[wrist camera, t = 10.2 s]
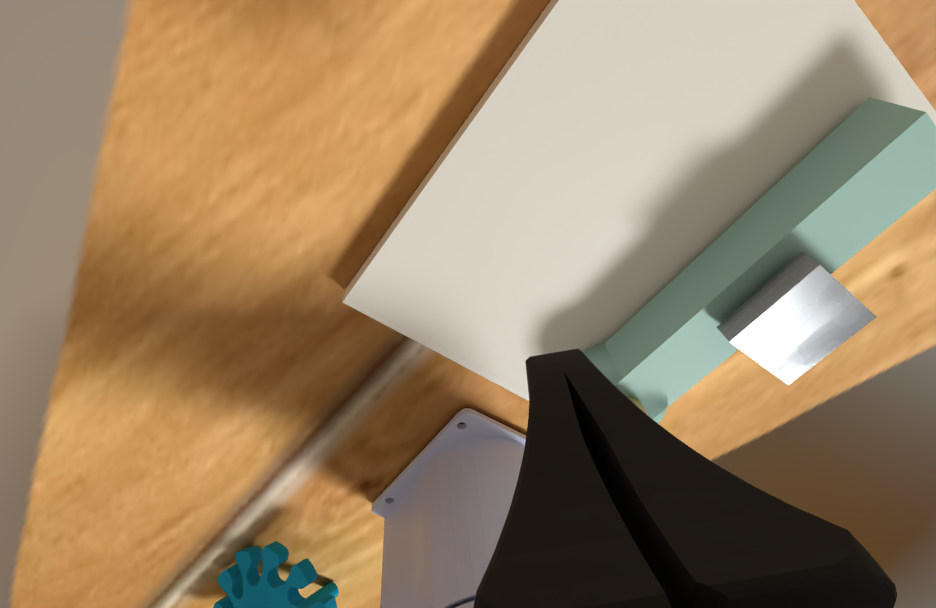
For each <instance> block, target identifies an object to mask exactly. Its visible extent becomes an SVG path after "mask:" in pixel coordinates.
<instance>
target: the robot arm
mask: <svg viewBox="0 0 936 608" xmlns="http://www.w3.org/2000/svg"><path fill="white" fill-rule="evenodd" d="M525 363H526V373H527V383H528V392H529V402H530V403H529V419H528V427H527V434H526V435H524V434H522V433H520V432H518V431H516V430H514V429H512V428H510V427H507V426H505V425H503V424H501V423H499V422H497V421H495V420H493V419H491V418H489V417H487V416H485V415H483V414H481V413H479V412H477V411H475V410H473V409H470V408H465V409H462V410H461V411H459V412H458V413H457V414H456V415H455V416H454V418H453V419H452V420H451V421H450V422H449V423H448V424H447V425H446V426H445V427H444V428H443V429H442V430H441V431H440V432H439V433H438V434H437V436H436V437H435V438H434V439H433V440H432V441H431V442H430V443H429V444H428V445H427V446H426V447H425V448H424V449H423V450H422V451H421V452H420V453H419V455H418V456H417V457H416V458H415V459H414V460H413V461H412V462H411V463H410V464H409V465H408V466H407V467H406V468H405V469H404V470H403V471H402V473H401V474H400V475H399V476H398V477H397V478H396V479H395V480H394V481H393V482H392V483H391V484H390V485H389V486H388V487H387V488H386V489H385V491H384V492H383V493H382V494H381V495H380V496H379V497H378V498H377V499H376V500H375V501H374V502H373V504H372V512H373V513H374V514H376V515H379V516H381V517H384V518H385V521H384V542H383V563H382V584H381V605H380V608H893V607H894V604H895V601H896V597H897V592H896V587H895V584H894V583H893V582H892V581H891V579H890V578H889V577H888V576H887V575H886V573H885V572H884V571H883V569H882V568H881V567H880V566H879V564H878V563H877V562H876V561H875V559H874V558H873V557H872V556H871V555H870V553H869V552H868V551H867V550H866V549H865V548H864V547H863V546H862V545H861V544H860V543H859V542H858V541H857V540H856V539H855V538H854V536H853V535H852V534H851V533H850V532H849V531H848V530H846V529H844V528H841V527H839V526H837V525H835V524H832V523H830V522H828V521H826V520H823V519H821V518H819V517H816V516H814V515H812V514H810V513H807V512H805V511H803V510H800V509H798V508H796V507H794V506H791V505H789V504H787V503H785V502H783V501H781V500H780V499H777V498H776V497H774V496H772V495H770V494H768V493H766V492H764V491H762V490H760V489H758V488H756V487H754V486H752V485H750V484H749V483H747V482H745V481H743V480H742V479H740V478H738V477H737V476H735V475H733V474H731V473H730V472H728V471H726V470H724V469H722V468H721V467H719V466H717V465H716V464H714V463H713V462H711V461H710V460H708V459H707V458H705V457H703V456H702V455H700V454H699V453H697V452H696V451H694V450H693V449H692V448H690V447H689V446H687V445H686V444H684V443H683V442H682V441H680V440H679V439H677V438H676V437H675V436H673V435H672V434H671V433H669V432H668V431H667V430H665V429H664V428H663V427H662V426H660V425H659V424H658V423H657V422H655V421H654V420H653V419H652V418H650V417H649V416H648V415H647V414H646V413H644V412H643V411H642V410H641V409H640V408H639V407H637V406H636V405H635V404H634V403H633V402H632V401H631V400H630V399H629V398H628V397H626V396H625V395H624V394H623V393H622V392H621V391H620V390H619V389H618V388H617V387H616V386H615V385H614V384H613V383H612V382H611V381H610V380H609V379H608V378H607V377H606V376H605V375H604V374H603V373H602V372H601V371H600V370H599V369H598V368H597V367H596V366H595V365H594V364H593V363H592V362H591V361H590V360H589V359H588V357H587V356H586V355H585V354H584V353H583V352H582V351H581V350H579V349H578V348H577V349H572V350H566V351H560V352H554V353H548V354H542V355H536V356H531V357H529V358H528V359H527V360H526V361H525ZM460 422H464V423H463V424H458V423H460Z"/></svg>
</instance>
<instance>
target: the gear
mask: <svg viewBox="0 0 936 608" xmlns="http://www.w3.org/2000/svg"><path fill="white" fill-rule="evenodd" d="M288 556H289V551H288V549H287V548H286V547H285V546H284V545H282V544H280V543H279V542H276V541H275V542H273V543H271V544H269V545H267V546H265V547H264V548H263V550H262V554H261V550H260V547H258V546H249V547H246V548H244V549H242V550H240V551H238V552H236V554H235V559H236V563H237V564H236V565H234V566H232V567H230V568H228V569H226V570H224V571H223V572H222V573H221V574H220V575H219V576H218V578H217V581H218V584H219V586H220V587H221V589H223V590H224V591H225V592H226V593H227V595H228V596H226V597H224V598H223V599H221V600H219V601H218V602H216V603H215V605H214V607H213V608H337V605H336V601H335V598H336V597H337V596H338V588H337V586H336V584H335V583H333V582H330V583H328V584H327V585H325V586H324V587H322V588H321V589H319V590H318V591H316V592H315V593H313V594H312V595H311V596H309V597H308V598H303V597H302V596H301V595H300V594H299V591H298V589H303V588H304V587H306V586H307V585H309V584H310V583H312V582H313V581H315V580H316V578H317V573H316V571H315V569H314V567H313V565H312V564H311V562H310V561H309V560H308V559H304V560H302V561H301V562H299V563H297V564H296V565H294V566H293V567H292V568H291V570H290V574H289V577H288V579H287V580H286V581H283V580H281V579H280V577H279V575H278V566H279V565H280V564H282V563H284V562H285V561H286V560H287V559H288ZM261 557H262V561H263V569H262V574H261V577H260V576H259V574H258V565H259V563H260V561H261Z"/></svg>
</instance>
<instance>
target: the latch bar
mask: <svg viewBox="0 0 936 608" xmlns="http://www.w3.org/2000/svg"><path fill="white" fill-rule="evenodd" d="M935 189H936V125H935V124H934V122H933V121H932V120H931V118H930V117H929V115H928V114H927V112H924V111H920V110H917V109H913V108H909V107H905V106H901V105H898V104H894V103H890V102H886V101H882V100H879V99H875V98H871V97H869V98H868V99H867V100H866V101H865V102H864V103H863V104H862V105H861V106H860V107H858V108H857V109H856V110H855V111H854V112H853V113H852V114H851V115H850V116H849V117H848V118H847V119H846V120H844V121H843V122H842V123H841V124H840V125H839V126H838V127H837V128H836V129H835V130H834V131H833V132H832V133H830V134H829V135H828V136H827V137H826V138H825V139H824V140H823V141H822V142H821V143H820V144H819V145H818V146H817V147H815V148H814V149H813V150H812V151H811V152H810V153H809V154H808V155H807V156H806V157H805V158H804V159H803V160H801V161H800V162H799V163H798V164H797V165H796V166H795V167H794V168H793V169H792V170H791V171H790V172H789V173H787V174H786V175H785V176H784V177H783V178H782V179H781V180H780V181H779V182H778V183H777V184H776V185H775V186H773V187H772V188H771V189H770V190H769V191H768V192H767V193H766V194H765V195H764V196H763V197H762V198H761V199H759V200H758V201H757V202H756V203H755V204H754V205H753V206H752V207H751V208H750V209H749V210H748V211H747V212H746V213H744V214H743V215H742V216H741V217H740V218H739V219H738V220H737V221H736V222H735V223H734V224H733V225H732V226H730V227H729V228H728V229H727V230H726V231H725V232H724V233H723V234H722V235H721V236H720V237H719V238H718V239H716V240H715V241H714V242H713V243H712V244H711V245H710V246H709V247H708V248H707V249H706V250H705V251H704V252H702V253H701V254H700V255H699V256H698V257H697V258H696V259H695V260H694V261H693V262H692V263H691V264H690V265H689V266H687V267H686V268H685V269H684V270H683V271H682V272H681V273H680V274H679V275H678V276H677V277H676V278H675V279H673V280H672V281H671V282H670V283H669V284H668V285H667V286H666V287H665V288H664V289H663V290H662V291H661V292H659V293H658V294H657V295H656V296H655V297H654V298H653V299H652V300H651V301H650V302H649V303H648V304H647V305H645V306H644V307H643V308H642V309H641V310H640V311H639V312H638V313H637V314H636V315H635V316H634V317H633V318H631V319H630V320H629V321H628V322H627V323H626V324H625V325H624V326H623V327H622V328H621V329H620V330H619V331H618V332H616V333H615V334H614V335H613V336H612V337H611V338H610V339H609V340H608V341H607V342H606V343H605V344H601V345H598V346H595V347H593V348H590V349H589V350H587V351H585V352H584V354H585V355H586V356H587V357H588V359H589V360H590V361H591V362H592V363H593V364H594V365H595V366H596V367H597V368H598V369H599V370H600V371H601V372H602V373H603V374H604V375H605V376H606V377H607V378H608V379H609V380H610V381H611V382H612V383H613V384H614V385H615V386H616V387H617V388H618V389H619V390H620V391H621V392H622V393H623V394H624V395H625V396H626V397H628V398H629V399H630V400H631V401H632V402H633V403H634V404H635V405H636V406H637V407H639V408H640V409H641V410H642V411H643V412H644V413H646V414H647V415H648V416H649V417H650V418H652V419H653V420H654V421H655V422H657V423H659V422H660V421H661V420H662V418H663V417H664V415H665V412H666V410H667V407H668V406H669V405H671V404H672V403H673V402H674V401H676V400H677V399H678V398H679V397H681V396H682V395H683V394H684V393H685V392H687V391H688V390H689V389H690V388H692V387H693V386H694V385H695V384H696V383H698V382H699V381H700V380H701V379H703V378H704V377H705V376H706V375H708V374H709V373H710V372H711V371H712V370H714V369H715V368H716V367H717V366H719V365H720V364H721V363H722V362H723V361H725V360H726V359H727V358H728V357H730V356H731V355H732V354H733V353H735V352H736V351H737V350H738V348H737V347H735V346H734V345H733V344H731V343H730V342H729V341H728V340H727V339H726V338H725V336H724V335H723V334H722V333H721V332H720V331H719V330H718V328H717V326H718V325H719V324H720V323H722V322H723V321H724V320H725V319H726V318H727V317H728V316H730V315H731V314H732V313H733V312H734V311H735V310H736V309H737V308H739V307H740V306H741V305H742V304H743V303H744V302H745V301H747V300H748V299H749V298H750V297H751V296H752V295H753V294H754V293H756V292H757V291H758V290H759V289H760V288H761V287H762V286H764V285H765V284H766V283H767V282H768V281H769V280H770V279H771V278H773V277H774V276H775V275H776V274H777V273H778V272H779V271H781V270H782V269H783V268H784V267H785V266H786V265H787V264H789V263H790V262H791V261H792V260H793V259H794V258H795V257H796V256H798V255H799V254H800V253H801V252H803V253H804V254H806V255H807V256H809V257H810V258H811V259H813V260H814V261H816V262H817V263H819V264H820V265H821V266H822V267H823V268H824V269H825V270H826V271H828V272H829V273H830V274H831V273H833V272H834V271H835V270H836V269H838V268H839V267H840V266H841V265H842V264H844V263H845V262H846V261H847V260H849V259H850V258H851V257H852V256H854V255H855V254H856V253H857V252H858V251H860V250H861V249H862V248H863V247H865V246H866V245H867V244H868V243H869V242H871V241H872V240H873V239H874V238H876V237H877V236H878V235H879V234H881V233H882V232H883V231H884V230H885V229H887V228H888V227H889V226H890V225H892V224H893V223H894V222H895V221H896V220H898V219H899V218H900V217H901V216H903V215H904V214H905V213H906V212H908V211H909V210H910V209H911V208H912V207H914V206H915V205H916V204H917V203H919V202H920V201H921V200H922V199H923V198H925V197H926V196H927V195H928V194H930V193H931V192H932V191H933V190H935Z"/></svg>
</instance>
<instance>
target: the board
mask: <svg viewBox="0 0 936 608" xmlns="http://www.w3.org/2000/svg"><path fill="white" fill-rule="evenodd" d="M869 97H871V98H875V99H879V100H882V101H886V102H890V103H894V104H898V105H901V106H905V107H909V108H913V109H917V110H920V111H924V112H927V114H928V115H929V117H930V118H931V120H932V121H933V122H934V124H935V125H936V111H935V110H934V108H933V107H932V106H931V104H930V103H929V102H928V100H927V99H926V98H925V96H924V95H923V93H922V92H921V91H920V89H919V88H918V87H917V85H916V84H915V83H914V81H913V80H912V78H911V77H910V76H909V74H908V73H907V72H906V70H905V69H904V68H903V66H902V65H901V63H900V62H899V61H898V59H897V58H896V57H895V55H894V54H893V53H892V51H891V50H890V48H889V47H888V46H887V44H886V43H885V42H884V40H883V39H882V38H881V36H880V35H879V33H878V32H877V31H876V29H875V28H874V27H873V25H872V24H871V23H870V21H869V20H868V18H867V17H866V16H865V14H864V13H863V12H862V10H861V9H860V8H859V6H858V5H857V3H856V2H855V1H854V0H551V1H550V2H549V4H548V5H547V6H546V8H545V9H544V11H543V12H542V14H541V15H540V16H539V18H538V19H537V21H536V22H535V23H534V25H533V26H532V28H531V29H530V30H529V32H528V33H527V35H526V36H525V37H524V39H523V40H522V42H521V43H520V44H519V46H518V47H517V49H516V50H515V52H514V53H513V54H512V56H511V57H510V59H509V60H508V61H507V63H506V64H505V66H504V67H503V68H502V70H501V71H500V73H499V74H498V75H497V77H496V78H495V80H494V81H493V82H492V84H491V85H490V87H489V88H488V89H487V91H486V92H485V94H484V95H483V97H482V98H481V99H480V101H479V102H478V104H477V105H476V106H475V108H474V109H473V111H472V112H471V113H470V115H469V116H468V118H467V119H466V120H465V122H464V123H463V125H462V126H461V127H460V129H459V130H458V132H457V133H456V135H455V136H454V137H453V139H452V140H451V142H450V143H449V144H448V146H447V147H446V149H445V150H444V151H443V153H442V154H441V156H440V157H439V158H438V160H437V161H436V163H435V164H434V165H433V167H432V168H431V170H430V171H429V173H428V174H427V175H426V177H425V178H424V180H423V181H422V182H421V184H420V185H419V187H418V188H417V189H416V191H415V192H414V194H413V195H412V196H411V198H410V199H409V201H408V202H407V203H406V205H405V206H404V208H403V209H402V211H401V212H400V213H399V215H398V216H397V218H396V219H395V220H394V222H393V223H392V225H391V226H390V227H389V229H388V230H387V232H386V233H385V234H384V236H383V237H382V239H381V240H380V241H379V243H378V244H377V246H376V247H375V248H374V250H373V251H372V253H371V254H370V256H369V257H368V258H367V260H366V261H365V263H364V264H363V265H362V267H361V268H360V270H359V271H358V272H357V274H356V275H355V277H354V278H353V279H352V281H351V282H350V284H349V285H348V286H347V288H346V289H345V291H344V296H343V301H342V303H344V304H346V305H348V306H350V307H352V308H354V309H356V310H358V311H359V312H361V313H363V314H365V315H367V316H369V317H371V318H373V319H375V320H377V321H378V322H380V323H382V324H384V325H386V326H388V327H390V328H392V329H394V330H395V331H397V332H399V333H401V334H403V335H405V336H407V337H409V338H411V339H413V340H414V341H416V342H418V343H420V344H422V345H424V346H426V347H428V348H430V349H431V350H433V351H435V352H437V353H439V354H441V355H443V356H445V357H447V358H448V359H450V360H452V361H454V362H456V363H458V364H460V365H462V366H464V367H466V368H467V369H469V370H471V371H473V372H475V373H477V374H479V375H481V376H483V377H484V378H486V379H488V380H490V381H492V382H494V383H496V384H498V385H500V386H502V387H503V388H505V389H507V390H509V391H511V392H513V393H515V394H517V395H519V396H520V397H522V398H524V399H526V400H528V401H529V392H528V383H527V373H526V363H525V361H526V360H527V359H528V358H529V357H531V356H536V355H542V354H548V353H554V352H560V351H566V350H572V349H577V348H578V349H579V350H581V351H582V352H583V353H584V352H585V351H587V350H589V349H590V348H593V347H595V346H598V345H601V344H605V343H606V342H607V341H608V340H609V339H610V338H611V337H612V336H613V335H614V334H615V333H616V332H618V331H619V330H620V329H621V328H622V327H623V326H624V325H625V324H626V323H627V322H628V321H629V320H630V319H631V318H633V317H634V316H635V315H636V314H637V313H638V312H639V311H640V310H641V309H642V308H643V307H644V306H645V305H647V304H648V303H649V302H650V301H651V300H652V299H653V298H654V297H655V296H656V295H657V294H658V293H659V292H661V291H662V290H663V289H664V288H665V287H666V286H667V285H668V284H669V283H670V282H671V281H672V280H673V279H675V278H676V277H677V276H678V275H679V274H680V273H681V272H682V271H683V270H684V269H685V268H686V267H687V266H689V265H690V264H691V263H692V262H693V261H694V260H695V259H696V258H697V257H698V256H699V255H700V254H701V253H702V252H704V251H705V250H706V249H707V248H708V247H709V246H710V245H711V244H712V243H713V242H714V241H715V240H716V239H718V238H719V237H720V236H721V235H722V234H723V233H724V232H725V231H726V230H727V229H728V228H729V227H730V226H732V225H733V224H734V223H735V222H736V221H737V220H738V219H739V218H740V217H741V216H742V215H743V214H744V213H746V212H747V211H748V210H749V209H750V208H751V207H752V206H753V205H754V204H755V203H756V202H757V201H758V200H759V199H761V198H762V197H763V196H764V195H765V194H766V193H767V192H768V191H769V190H770V189H771V188H772V187H773V186H775V185H776V184H777V183H778V182H779V181H780V180H781V179H782V178H783V177H784V176H785V175H786V174H787V173H789V172H790V171H791V170H792V169H793V168H794V167H795V166H796V165H797V164H798V163H799V162H800V161H801V160H803V159H804V158H805V157H806V156H807V155H808V154H809V153H810V152H811V151H812V150H813V149H814V148H815V147H817V146H818V145H819V144H820V143H821V142H822V141H823V140H824V139H825V138H826V137H827V136H828V135H829V134H830V133H832V132H833V131H834V130H835V129H836V128H837V127H838V126H839V125H840V124H841V123H842V122H843V121H844V120H846V119H847V118H848V117H849V116H850V115H851V114H852V113H853V112H854V111H855V110H856V109H857V108H858V107H860V106H861V105H862V104H863V103H864V102H865V101H866V100H867V99H868V98H869Z"/></svg>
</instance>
